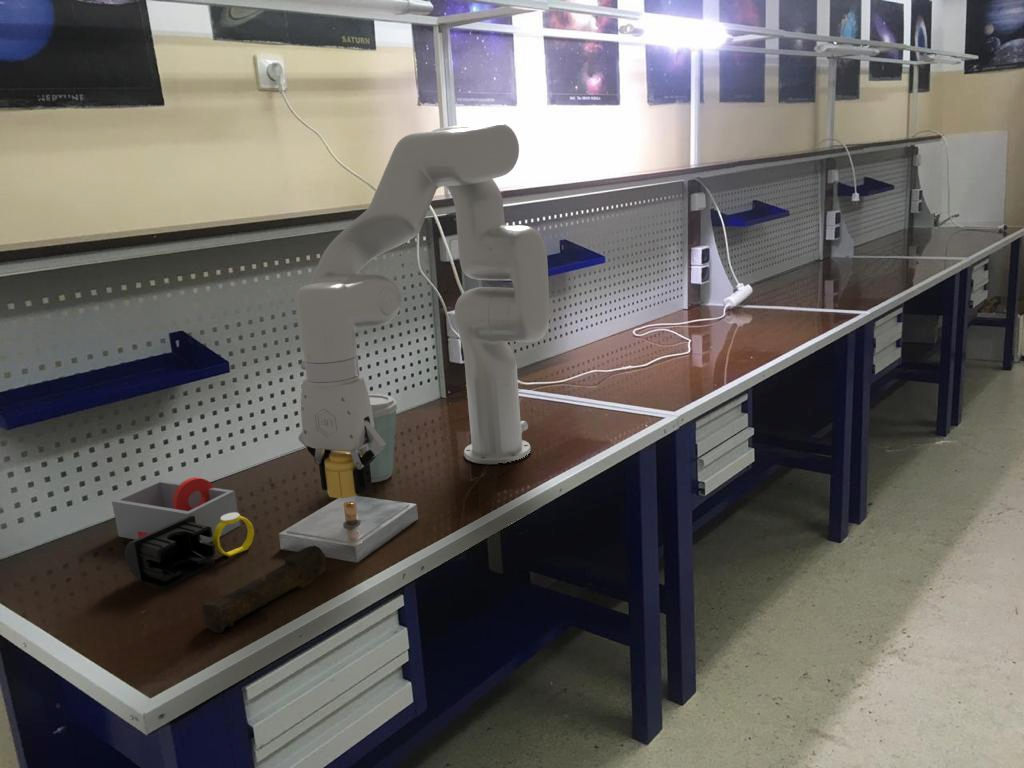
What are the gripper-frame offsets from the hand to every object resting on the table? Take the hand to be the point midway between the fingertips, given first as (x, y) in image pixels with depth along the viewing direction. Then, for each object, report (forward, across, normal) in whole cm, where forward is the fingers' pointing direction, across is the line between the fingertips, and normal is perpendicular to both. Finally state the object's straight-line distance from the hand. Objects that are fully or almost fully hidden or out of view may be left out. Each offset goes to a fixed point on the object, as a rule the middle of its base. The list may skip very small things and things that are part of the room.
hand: (346, 488), depth 128 cm
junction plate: (+8, -2, +2) cm, 9 cm away
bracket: (+8, -30, -6) cm, 32 cm away
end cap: (+9, -19, -17) cm, 27 cm away
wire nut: (0, 0, 0) cm, 0 cm away
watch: (+9, -15, -9) cm, 19 cm away
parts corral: (+9, -30, -6) cm, 32 cm away
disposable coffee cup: (+9, -13, +24) cm, 29 cm away
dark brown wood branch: (+9, 0, -18) cm, 20 cm away
